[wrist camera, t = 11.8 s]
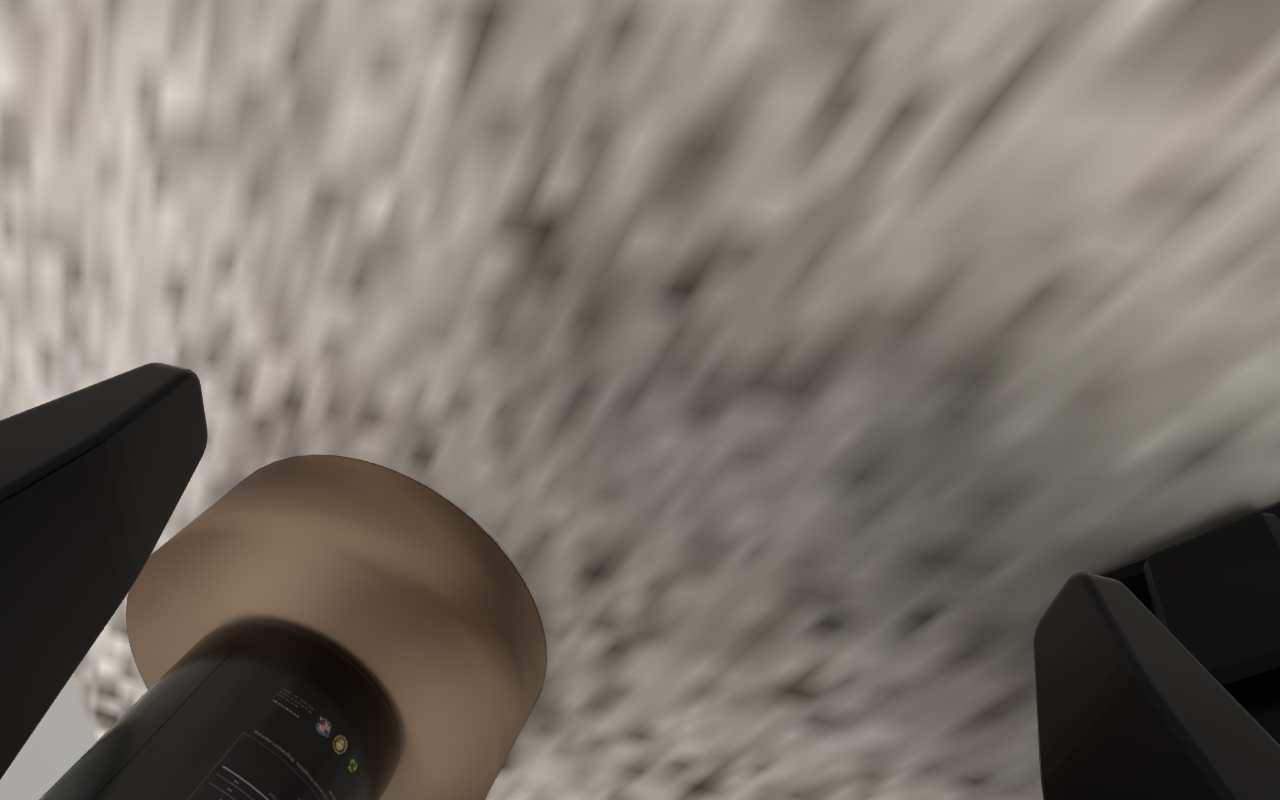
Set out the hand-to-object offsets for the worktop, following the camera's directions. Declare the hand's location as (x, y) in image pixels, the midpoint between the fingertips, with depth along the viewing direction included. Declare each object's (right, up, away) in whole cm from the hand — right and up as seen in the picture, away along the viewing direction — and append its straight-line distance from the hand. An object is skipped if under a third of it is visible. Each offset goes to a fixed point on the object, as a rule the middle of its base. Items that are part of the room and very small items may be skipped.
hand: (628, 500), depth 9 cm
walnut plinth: (-9, -6, +21) cm, 23 cm away
